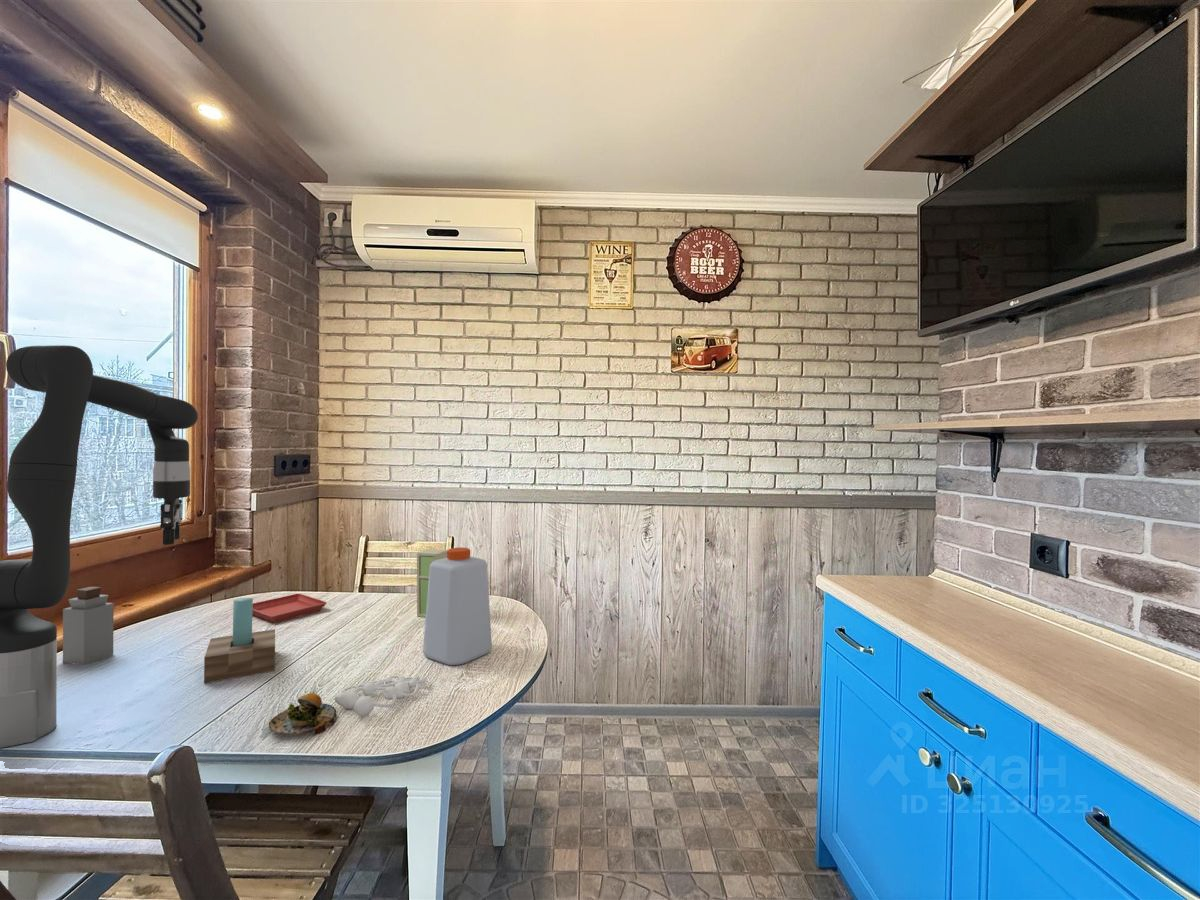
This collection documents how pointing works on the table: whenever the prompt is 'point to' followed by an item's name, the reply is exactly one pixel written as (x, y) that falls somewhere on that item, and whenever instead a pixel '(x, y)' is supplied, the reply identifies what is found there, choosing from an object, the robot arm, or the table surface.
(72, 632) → the perfume bottle
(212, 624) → the table surface
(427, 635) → the plastic bottle
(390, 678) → the tangled rod sculpture
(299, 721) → the burger
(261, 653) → the bore block
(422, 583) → the toy refrigerator
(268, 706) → the table surface
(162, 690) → the table surface
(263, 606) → the plant saucer
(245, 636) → the pin
